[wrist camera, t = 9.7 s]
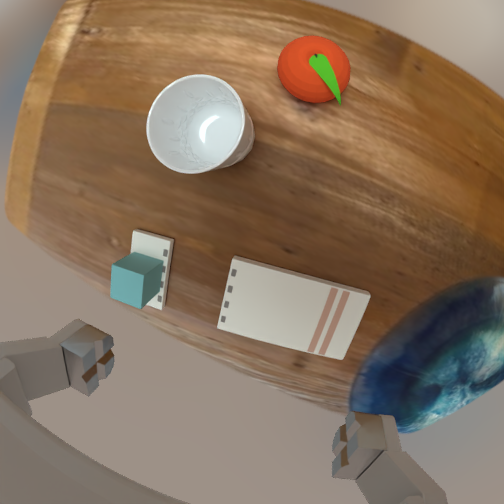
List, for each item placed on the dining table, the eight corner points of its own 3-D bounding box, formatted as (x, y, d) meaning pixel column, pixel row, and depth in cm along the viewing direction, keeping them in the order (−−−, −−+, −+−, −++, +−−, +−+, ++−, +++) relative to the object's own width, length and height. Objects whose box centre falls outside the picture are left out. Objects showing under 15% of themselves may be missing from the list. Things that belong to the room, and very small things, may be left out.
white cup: (242, 89, 28) (219, 57, 19) (273, 153, 30) (262, 145, 20) (178, 121, 30) (133, 106, 20) (206, 183, 31) (169, 191, 22)
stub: (174, 239, 33) (150, 253, 28) (164, 306, 36) (143, 329, 30) (137, 228, 34) (109, 240, 28) (131, 294, 36) (106, 314, 31)
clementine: (362, 101, 27) (379, 84, 20) (306, 128, 28) (309, 116, 22) (322, 42, 25) (327, 12, 19) (267, 68, 27) (259, 42, 20)
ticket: (368, 291, 32) (371, 296, 31) (341, 354, 35) (342, 360, 33) (234, 255, 33) (232, 258, 32) (219, 322, 36) (216, 328, 34)
